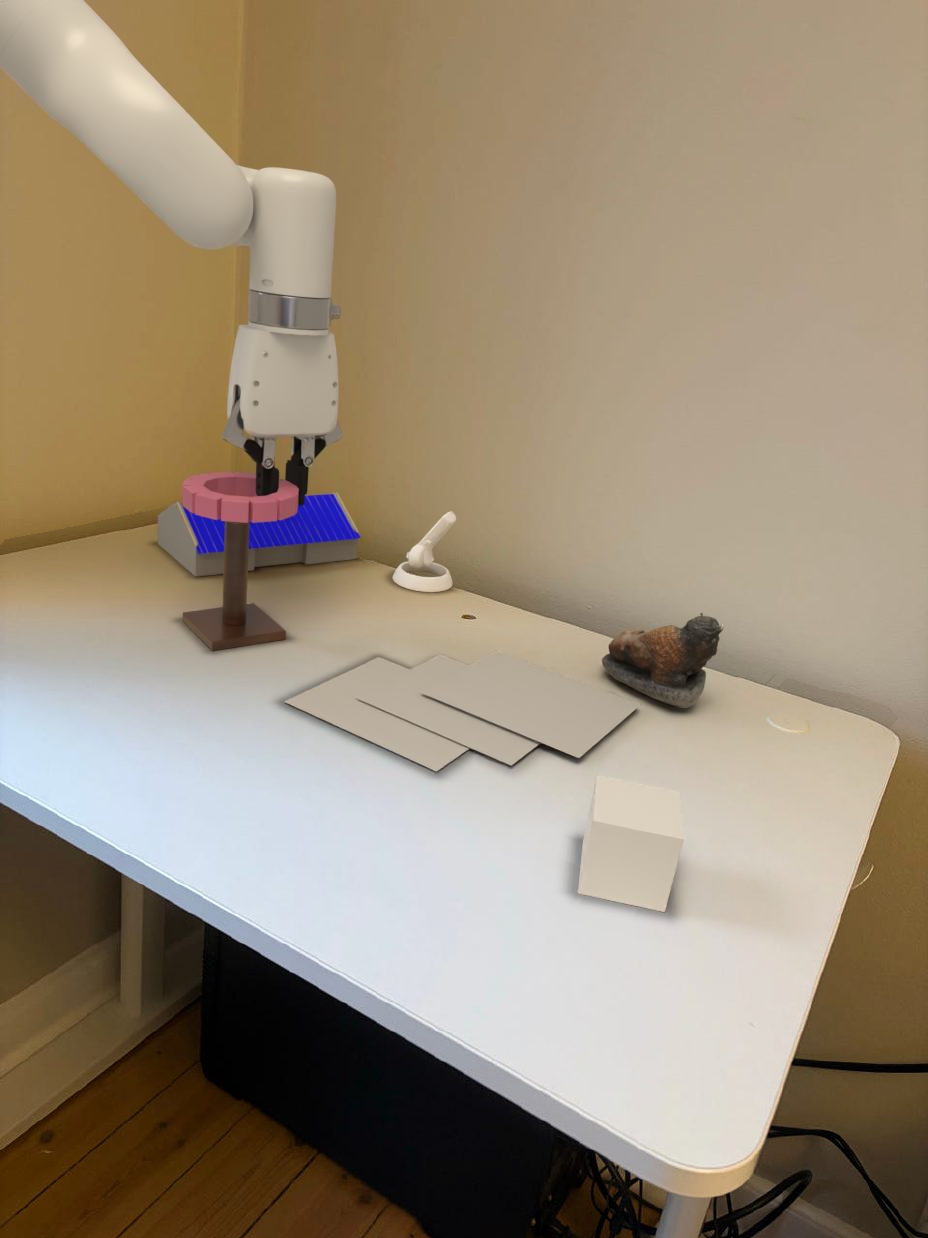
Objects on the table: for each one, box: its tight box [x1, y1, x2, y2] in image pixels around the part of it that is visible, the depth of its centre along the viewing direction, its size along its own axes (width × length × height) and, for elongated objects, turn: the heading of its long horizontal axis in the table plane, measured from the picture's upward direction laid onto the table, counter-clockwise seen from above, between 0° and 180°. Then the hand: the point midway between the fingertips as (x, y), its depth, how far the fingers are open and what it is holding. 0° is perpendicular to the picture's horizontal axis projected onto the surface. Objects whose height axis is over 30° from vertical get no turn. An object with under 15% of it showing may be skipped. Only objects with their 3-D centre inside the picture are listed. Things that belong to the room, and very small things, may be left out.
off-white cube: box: [577, 774, 685, 913], centre depth 64 cm, size 6×6×6 cm
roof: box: [156, 491, 361, 578], centre depth 118 cm, size 22×14×7 cm, turn 127°
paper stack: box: [284, 650, 642, 772], centre depth 86 cm, size 23×25×1 cm
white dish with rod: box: [392, 510, 457, 593], centre depth 114 cm, size 8×12×7 cm
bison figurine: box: [601, 612, 725, 709], centre depth 93 cm, size 12×7×10 cm, turn 41°
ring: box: [181, 471, 299, 523], centre depth 91 cm, size 11×11×2 cm
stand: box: [181, 521, 287, 652], centre depth 94 cm, size 8×8×12 cm
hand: (281, 501), depth 93 cm, fingers closed on ring, 2 cm apart
